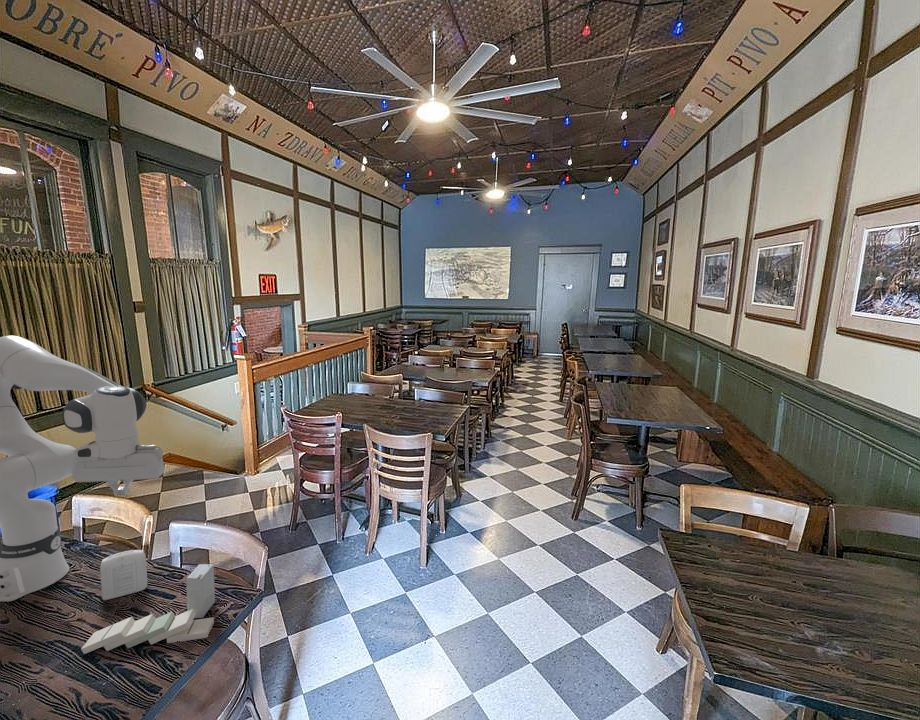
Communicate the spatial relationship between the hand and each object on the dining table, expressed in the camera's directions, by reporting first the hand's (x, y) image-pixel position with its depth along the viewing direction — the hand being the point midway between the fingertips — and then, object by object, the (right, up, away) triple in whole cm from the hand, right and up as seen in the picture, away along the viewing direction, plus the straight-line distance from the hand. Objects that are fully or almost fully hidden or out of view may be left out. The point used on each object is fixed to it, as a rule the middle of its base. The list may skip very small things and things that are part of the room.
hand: (121, 494), depth 112 cm
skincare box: (+22, -33, +1) cm, 39 cm away
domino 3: (+16, -33, -9) cm, 37 cm away
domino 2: (+7, -33, -11) cm, 35 cm away
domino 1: (+2, -33, -12) cm, 35 cm away
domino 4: (+19, -33, -8) cm, 39 cm away
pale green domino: (+11, -33, -10) cm, 36 cm away
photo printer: (-4, -31, +6) cm, 32 cm away
